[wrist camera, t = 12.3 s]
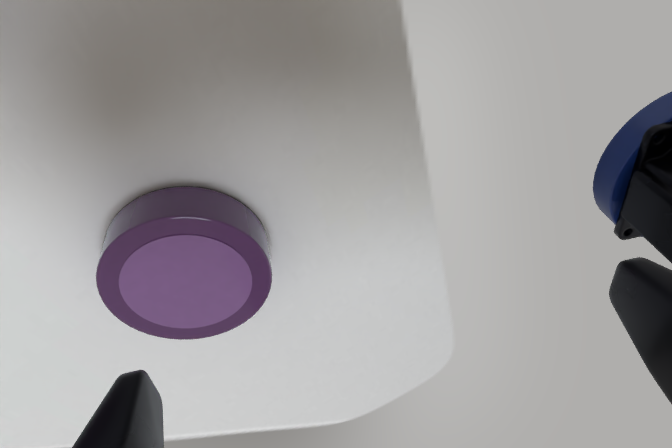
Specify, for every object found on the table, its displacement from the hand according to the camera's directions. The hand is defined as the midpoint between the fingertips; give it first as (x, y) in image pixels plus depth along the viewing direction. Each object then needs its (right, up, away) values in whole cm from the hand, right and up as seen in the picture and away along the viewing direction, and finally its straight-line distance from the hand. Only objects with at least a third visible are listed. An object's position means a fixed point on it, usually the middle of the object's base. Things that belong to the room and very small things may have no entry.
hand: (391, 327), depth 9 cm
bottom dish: (-7, +1, +12) cm, 14 cm away
